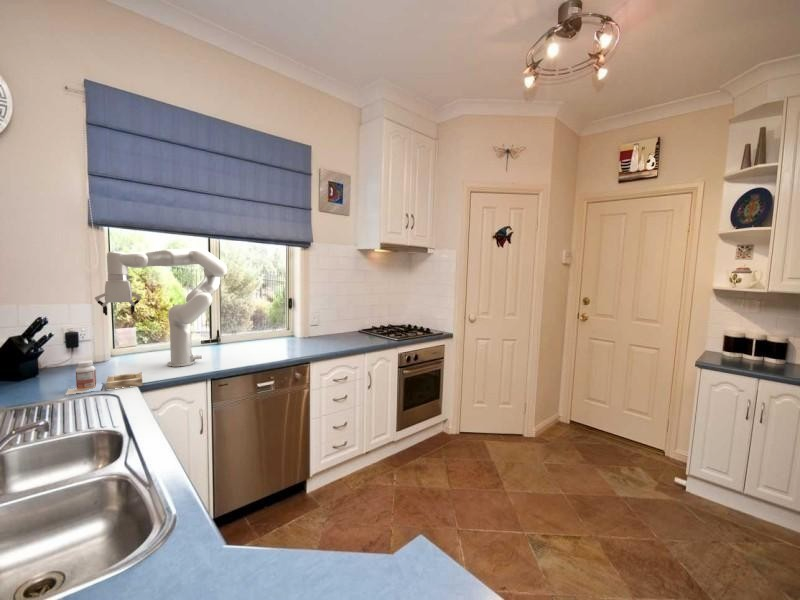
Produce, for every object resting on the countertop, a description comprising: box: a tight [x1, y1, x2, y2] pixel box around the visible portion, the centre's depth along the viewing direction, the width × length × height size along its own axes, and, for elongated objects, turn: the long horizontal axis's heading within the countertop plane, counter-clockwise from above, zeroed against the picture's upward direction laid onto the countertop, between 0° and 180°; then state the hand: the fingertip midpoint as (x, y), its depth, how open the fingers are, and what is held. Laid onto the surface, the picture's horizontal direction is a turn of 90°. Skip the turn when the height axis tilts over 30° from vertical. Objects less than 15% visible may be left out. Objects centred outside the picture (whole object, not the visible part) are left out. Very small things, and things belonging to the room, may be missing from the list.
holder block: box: [105, 372, 143, 390], centre depth 156 cm, size 12×12×3 cm
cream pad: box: [64, 388, 87, 396], centre depth 149 cm, size 11×11×1 cm
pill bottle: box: [75, 360, 97, 390], centre depth 148 cm, size 6×6×11 cm
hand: (119, 314), depth 170 cm, fingers open, 9 cm apart
